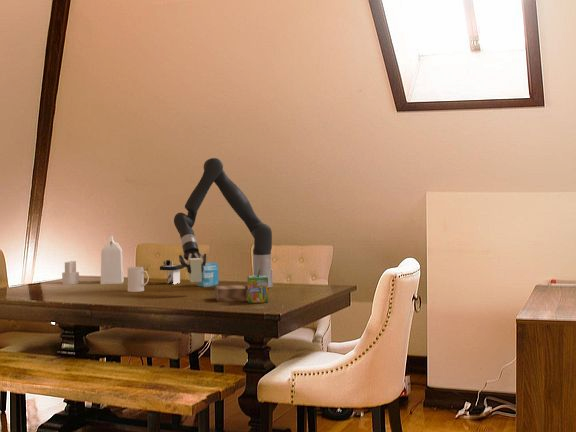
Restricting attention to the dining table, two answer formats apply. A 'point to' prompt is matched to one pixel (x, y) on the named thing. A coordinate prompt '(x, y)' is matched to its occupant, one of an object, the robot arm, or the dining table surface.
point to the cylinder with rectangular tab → (70, 273)
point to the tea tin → (195, 270)
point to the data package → (209, 275)
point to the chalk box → (257, 289)
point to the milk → (112, 263)
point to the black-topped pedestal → (172, 271)
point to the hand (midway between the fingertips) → (196, 272)
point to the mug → (136, 279)
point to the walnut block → (230, 293)
